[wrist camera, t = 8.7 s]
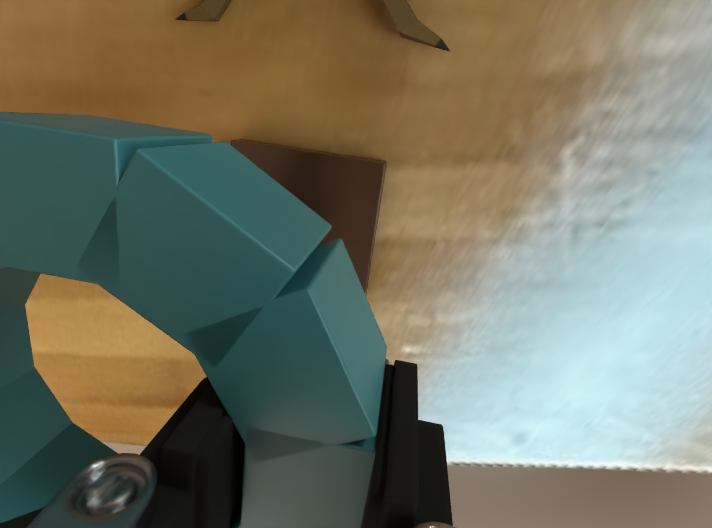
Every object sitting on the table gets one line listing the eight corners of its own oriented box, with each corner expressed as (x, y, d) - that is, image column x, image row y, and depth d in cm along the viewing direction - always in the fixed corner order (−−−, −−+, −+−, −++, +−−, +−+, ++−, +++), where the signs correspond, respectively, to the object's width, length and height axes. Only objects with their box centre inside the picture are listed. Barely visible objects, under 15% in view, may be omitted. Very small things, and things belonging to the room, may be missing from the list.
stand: (387, 161, 24) (364, 190, 13) (365, 299, 27) (332, 414, 16) (240, 139, 25) (106, 149, 14) (235, 275, 28) (121, 370, 17)
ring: (425, 167, 8) (432, 188, 5) (348, 569, 12) (329, 701, 9) (-100, 85, 9) (-324, 68, 6) (-13, 483, 13) (-128, 579, 10)
